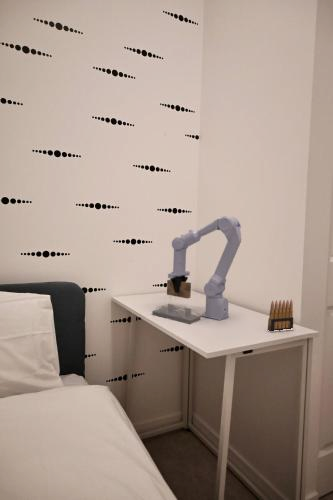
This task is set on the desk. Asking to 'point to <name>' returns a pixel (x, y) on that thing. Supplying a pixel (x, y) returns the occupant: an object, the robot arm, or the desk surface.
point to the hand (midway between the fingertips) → (178, 292)
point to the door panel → (183, 292)
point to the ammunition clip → (281, 316)
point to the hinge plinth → (177, 314)
